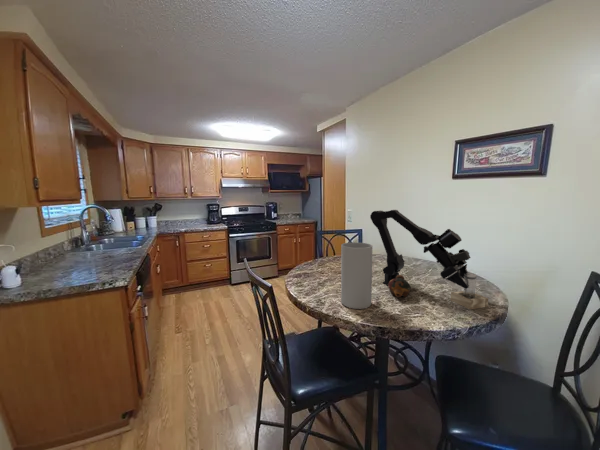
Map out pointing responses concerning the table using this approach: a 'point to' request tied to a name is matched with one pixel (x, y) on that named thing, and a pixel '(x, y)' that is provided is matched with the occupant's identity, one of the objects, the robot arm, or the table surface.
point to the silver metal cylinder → (469, 285)
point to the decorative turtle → (399, 286)
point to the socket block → (469, 300)
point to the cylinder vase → (356, 275)
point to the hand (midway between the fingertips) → (469, 285)
